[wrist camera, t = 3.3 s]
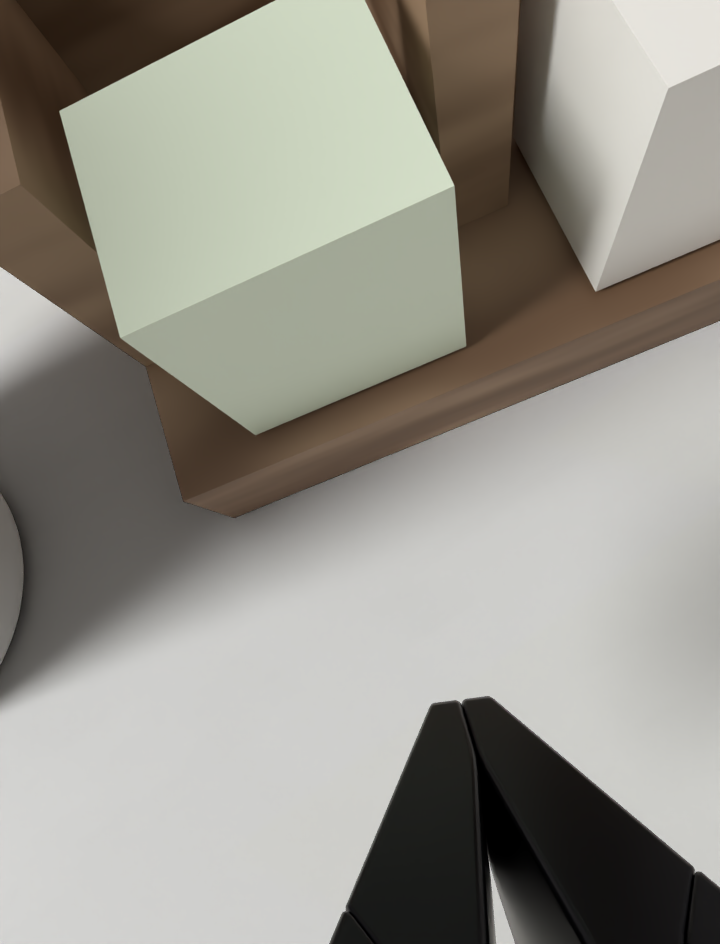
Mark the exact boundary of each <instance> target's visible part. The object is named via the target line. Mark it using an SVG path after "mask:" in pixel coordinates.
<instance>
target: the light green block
mask: <svg viewBox="0 0 720 944" xmlns="http://www.w3.org/2000/svg"><path fill="white" fill-rule="evenodd" d="M59 112H60V116H61V119H62V123H63V127H64V131H65V134H66V138H67V142H68V145H69V149H70V153H71V157H72V160H73V164H74V168H75V172H76V175H77V179H78V183H79V186H80V190H81V194H82V198H83V201H84V205H85V209H86V213H87V216H88V220H89V224H90V228H91V231H92V235H93V239H94V242H95V246H96V250H97V254H98V257H99V261H100V265H101V269H102V272H103V276H104V280H105V283H106V287H107V291H108V295H109V298H110V302H111V306H112V310H113V313H114V317H115V321H116V324H117V328H118V332H119V336H120V338H121V339H122V340H124V341H125V342H126V343H128V344H129V345H131V346H132V347H133V348H135V349H136V350H138V351H139V352H140V353H142V354H143V355H145V356H146V357H147V358H149V359H150V360H152V361H153V362H154V363H156V364H157V365H158V366H160V367H161V368H163V369H164V370H165V371H167V372H168V373H170V374H171V375H172V376H174V377H175V378H177V379H178V380H179V381H181V382H182V383H184V384H185V385H186V386H188V387H189V388H191V389H192V390H193V391H195V392H196V393H197V394H199V395H200V396H202V397H203V398H204V399H206V400H207V401H209V402H210V403H211V404H213V405H214V406H216V407H217V408H218V409H220V410H221V411H223V412H224V413H225V414H227V415H228V416H229V417H231V418H232V419H234V420H235V421H236V422H238V423H239V424H241V425H242V426H243V427H245V428H246V429H248V430H249V431H250V432H252V433H253V434H255V435H257V434H260V433H262V432H264V431H267V430H269V429H272V428H274V427H276V426H279V425H281V424H283V423H286V422H288V421H291V420H293V419H295V418H298V417H300V416H302V415H305V414H307V413H309V412H312V411H314V410H317V409H319V408H321V407H324V406H326V405H328V404H331V403H333V402H336V401H338V400H340V399H343V398H345V397H347V396H350V395H352V394H355V393H357V392H359V391H362V390H364V389H366V388H369V387H371V386H373V385H376V384H378V383H381V382H383V381H385V380H388V379H390V378H392V377H395V376H397V375H400V374H402V373H404V372H407V371H409V370H411V369H414V368H416V367H419V366H421V365H423V364H426V363H428V362H430V361H433V360H435V359H438V358H440V357H442V356H445V355H447V354H449V353H452V352H454V351H456V350H459V349H461V348H464V347H466V334H465V321H464V307H463V294H462V280H461V267H460V254H459V240H458V227H457V213H456V200H455V186H454V184H453V182H452V180H451V177H450V175H449V173H448V171H447V169H446V167H445V165H444V163H443V161H442V159H441V157H440V155H439V153H438V151H437V149H436V146H435V144H434V142H433V140H432V138H431V136H430V134H429V132H428V130H427V128H426V126H425V124H424V122H423V120H422V118H421V115H420V113H419V111H418V109H417V107H416V105H415V103H414V101H413V99H412V97H411V95H410V93H409V91H408V89H407V87H406V84H405V82H404V80H403V78H402V76H401V74H400V72H399V70H398V68H397V66H396V64H395V62H394V60H393V58H392V56H391V53H390V51H389V49H388V47H387V45H386V43H385V41H384V39H383V37H382V35H381V33H380V31H379V29H378V27H377V25H376V22H375V20H374V18H373V16H372V14H371V12H370V10H369V8H368V6H367V4H366V2H365V0H275V1H273V2H271V3H269V4H267V5H265V6H263V7H261V8H260V9H258V10H256V11H254V12H252V13H250V14H248V15H246V16H244V17H242V18H240V19H238V20H236V21H234V22H232V23H230V24H228V25H226V26H224V27H222V28H220V29H219V30H217V31H215V32H213V33H211V34H209V35H207V36H205V37H203V38H201V39H199V40H197V41H195V42H193V43H191V44H189V45H187V46H185V47H183V48H181V49H179V50H177V51H176V52H174V53H172V54H170V55H168V56H166V57H164V58H162V59H160V60H158V61H156V62H154V63H152V64H150V65H148V66H146V67H144V68H142V69H140V70H138V71H136V72H134V73H133V74H131V75H129V76H127V77H125V78H123V79H121V80H119V81H117V82H115V83H113V84H111V85H109V86H107V87H105V88H103V89H101V90H99V91H97V92H95V93H93V94H91V95H90V96H88V97H86V98H84V99H82V100H80V101H78V102H76V103H74V104H72V105H70V106H68V107H66V108H64V109H62V110H60V111H59Z"/></svg>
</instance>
